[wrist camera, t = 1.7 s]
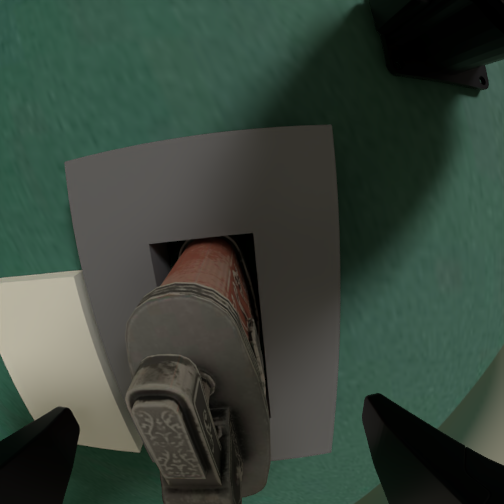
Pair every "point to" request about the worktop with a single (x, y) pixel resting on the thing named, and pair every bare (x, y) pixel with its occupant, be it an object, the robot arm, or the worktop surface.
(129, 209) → the grey rectangular frame
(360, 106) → the worktop surface
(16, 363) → the rubber mat
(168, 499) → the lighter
